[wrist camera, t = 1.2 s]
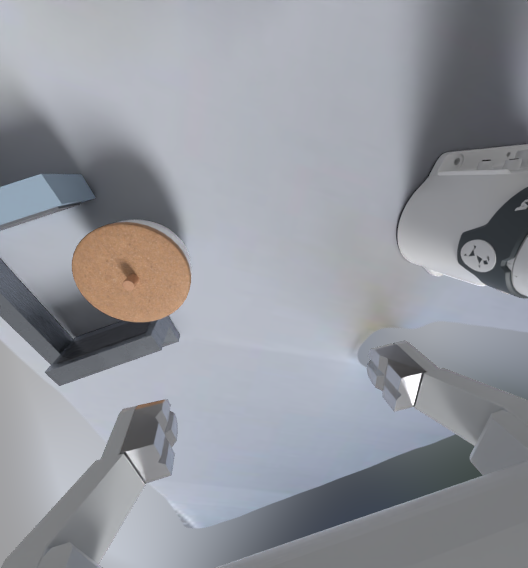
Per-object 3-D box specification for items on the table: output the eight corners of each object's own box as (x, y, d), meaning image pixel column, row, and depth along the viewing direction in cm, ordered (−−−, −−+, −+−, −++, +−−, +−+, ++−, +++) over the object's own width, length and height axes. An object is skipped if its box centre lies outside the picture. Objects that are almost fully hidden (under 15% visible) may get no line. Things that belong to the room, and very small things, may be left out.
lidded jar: (155, 192, 27) (126, 200, 18) (213, 262, 31) (211, 294, 23) (86, 245, 28) (29, 275, 19) (152, 304, 32) (129, 349, 24)
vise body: (79, 169, 24) (36, 167, 19) (180, 335, 35) (172, 366, 30) (-64, 215, 24) (-154, 228, 18) (83, 369, 35) (56, 407, 29)
